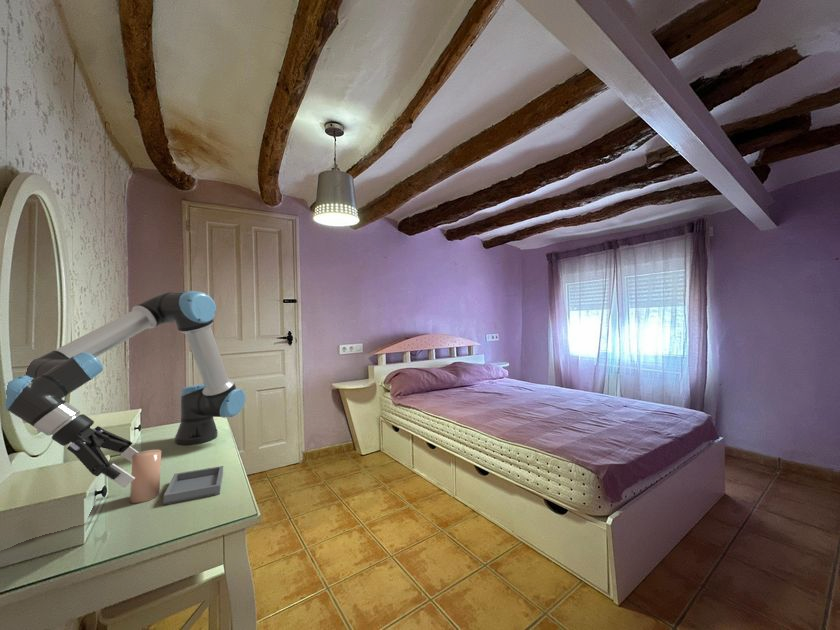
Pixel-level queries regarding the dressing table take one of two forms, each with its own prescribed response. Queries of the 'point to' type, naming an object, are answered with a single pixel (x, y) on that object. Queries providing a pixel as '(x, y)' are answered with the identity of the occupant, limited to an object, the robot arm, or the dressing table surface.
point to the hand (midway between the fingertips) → (137, 472)
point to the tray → (194, 485)
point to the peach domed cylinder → (145, 476)
